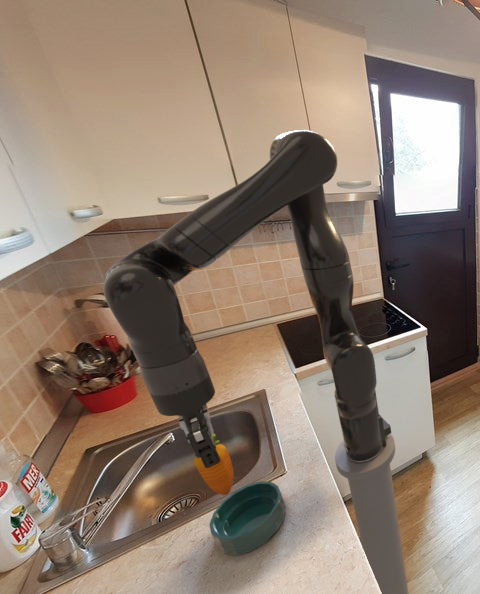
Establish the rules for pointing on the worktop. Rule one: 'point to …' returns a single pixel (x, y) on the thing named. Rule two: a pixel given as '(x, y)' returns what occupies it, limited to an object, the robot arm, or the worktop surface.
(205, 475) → the carrot
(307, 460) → the worktop surface
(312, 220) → the robot arm
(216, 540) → the bowl
